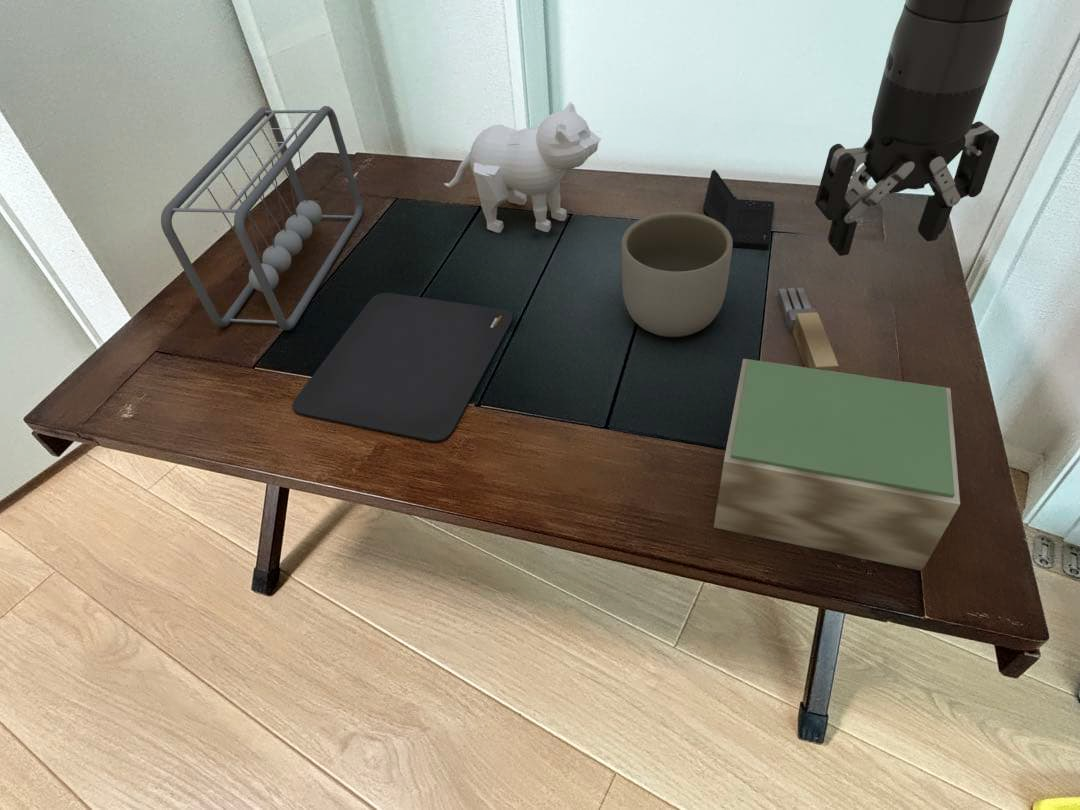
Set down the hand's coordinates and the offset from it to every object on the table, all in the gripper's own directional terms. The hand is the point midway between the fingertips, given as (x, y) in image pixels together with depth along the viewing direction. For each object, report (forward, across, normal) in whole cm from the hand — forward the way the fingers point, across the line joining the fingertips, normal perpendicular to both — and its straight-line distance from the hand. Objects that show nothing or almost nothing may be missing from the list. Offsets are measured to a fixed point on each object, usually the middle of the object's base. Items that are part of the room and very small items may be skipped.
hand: (883, 243), depth 68 cm
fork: (+17, -2, +6) cm, 18 cm away
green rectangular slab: (+7, -10, -15) cm, 19 cm away
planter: (+17, -16, +14) cm, 27 cm away
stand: (+17, -10, -15) cm, 24 cm away
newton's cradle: (+17, -64, +38) cm, 77 cm away
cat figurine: (+17, -30, +41) cm, 54 cm away
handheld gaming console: (+17, -1, +31) cm, 35 cm away
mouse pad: (+17, -49, +14) cm, 53 cm away
